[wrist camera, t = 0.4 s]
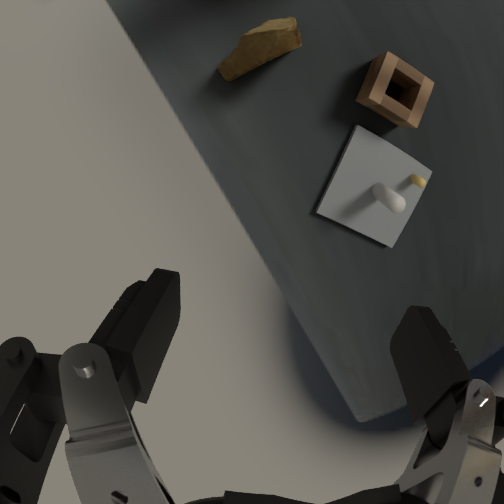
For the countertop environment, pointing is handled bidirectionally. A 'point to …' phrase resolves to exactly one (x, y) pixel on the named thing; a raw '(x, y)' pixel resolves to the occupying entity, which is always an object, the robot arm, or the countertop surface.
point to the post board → (359, 181)
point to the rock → (261, 47)
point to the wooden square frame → (404, 76)
